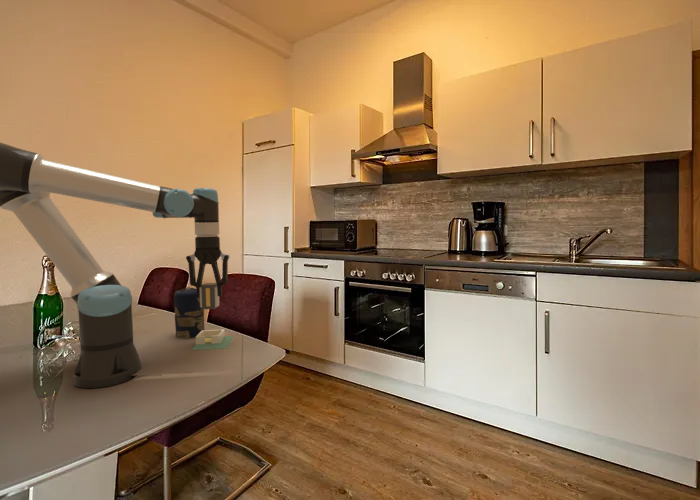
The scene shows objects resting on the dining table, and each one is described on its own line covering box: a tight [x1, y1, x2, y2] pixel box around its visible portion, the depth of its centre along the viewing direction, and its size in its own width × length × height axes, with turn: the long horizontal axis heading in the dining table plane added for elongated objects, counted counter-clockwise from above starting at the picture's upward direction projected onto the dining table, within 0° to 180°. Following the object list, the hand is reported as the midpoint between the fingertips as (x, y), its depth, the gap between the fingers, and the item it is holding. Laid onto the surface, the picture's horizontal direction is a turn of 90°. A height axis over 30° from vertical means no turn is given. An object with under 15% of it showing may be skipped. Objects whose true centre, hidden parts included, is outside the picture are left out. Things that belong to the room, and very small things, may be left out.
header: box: [195, 328, 226, 345], centre depth 123 cm, size 8×8×2 cm
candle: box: [173, 286, 206, 339], centre depth 130 cm, size 10×10×18 cm
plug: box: [201, 282, 217, 310], centre depth 122 cm, size 4×4×8 cm
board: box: [190, 335, 235, 351], centre depth 121 cm, size 13×11×1 cm
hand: (209, 306), depth 122 cm, fingers closed on plug, 4 cm apart
